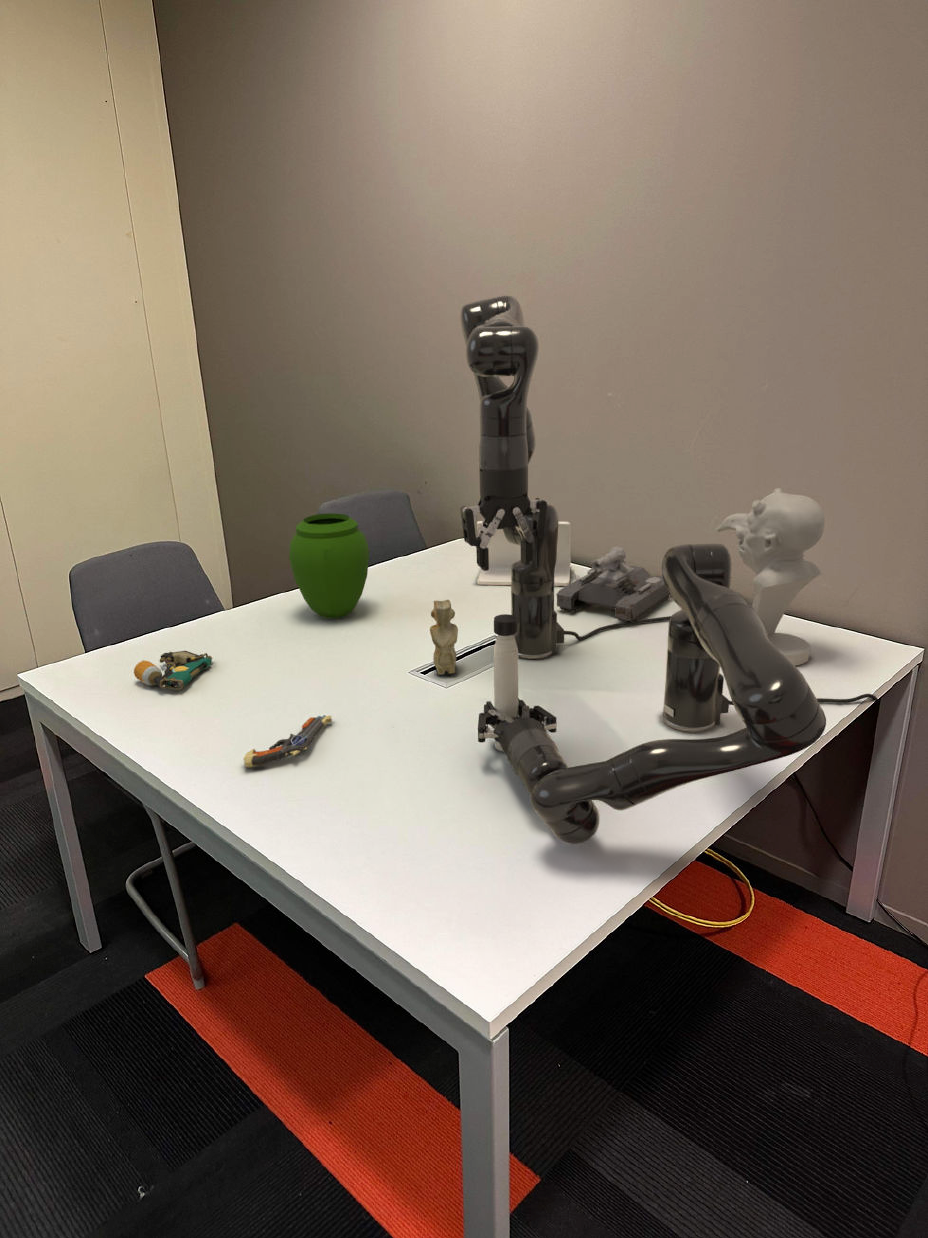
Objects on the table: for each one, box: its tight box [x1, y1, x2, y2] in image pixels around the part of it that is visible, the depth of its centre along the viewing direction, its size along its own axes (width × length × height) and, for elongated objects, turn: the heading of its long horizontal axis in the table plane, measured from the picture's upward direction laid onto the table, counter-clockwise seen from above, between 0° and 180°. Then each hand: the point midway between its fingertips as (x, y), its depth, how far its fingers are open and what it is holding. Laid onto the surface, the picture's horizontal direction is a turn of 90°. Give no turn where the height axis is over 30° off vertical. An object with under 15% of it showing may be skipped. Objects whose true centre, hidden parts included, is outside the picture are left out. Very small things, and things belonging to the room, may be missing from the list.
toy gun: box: [243, 714, 333, 769], centre depth 151 cm, size 3×19×10 cm
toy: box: [556, 546, 671, 623], centre depth 212 cm, size 25×20×15 cm
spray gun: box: [133, 650, 213, 690], centre depth 180 cm, size 4×17×15 cm
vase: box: [288, 512, 370, 620], centre depth 209 cm, size 20×20×24 cm
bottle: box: [493, 635, 519, 753], centre depth 145 cm, size 4×4×24 cm
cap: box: [493, 613, 517, 636], centre depth 141 cm, size 4×4×2 cm
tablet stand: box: [476, 520, 572, 587], centre depth 236 cm, size 18×25×17 cm
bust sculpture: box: [715, 487, 826, 667], centre depth 180 cm, size 16×24×35 cm
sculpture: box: [429, 599, 459, 675], centre depth 177 cm, size 6×7×15 cm
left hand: (504, 566), depth 137 cm, fingers open, 6 cm apart
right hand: (502, 704), depth 149 cm, fingers open, 4 cm apart
